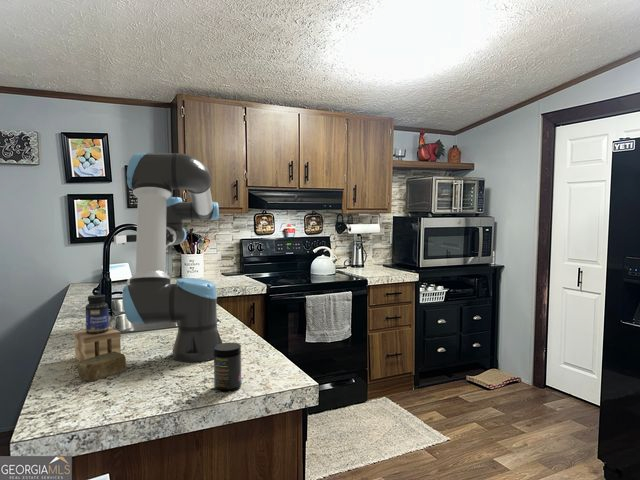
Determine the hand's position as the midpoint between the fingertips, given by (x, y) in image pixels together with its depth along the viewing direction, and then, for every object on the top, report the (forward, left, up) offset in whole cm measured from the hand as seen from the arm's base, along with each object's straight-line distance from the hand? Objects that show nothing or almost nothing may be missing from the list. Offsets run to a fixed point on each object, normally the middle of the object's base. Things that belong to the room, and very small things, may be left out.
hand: (134, 239), depth 147 cm
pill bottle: (-9, +15, -27) cm, 32 cm away
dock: (-9, +15, -35) cm, 39 cm away
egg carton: (+31, 0, -36) cm, 47 cm away
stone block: (-24, +19, -35) cm, 47 cm away
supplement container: (-57, 0, -35) cm, 67 cm away
